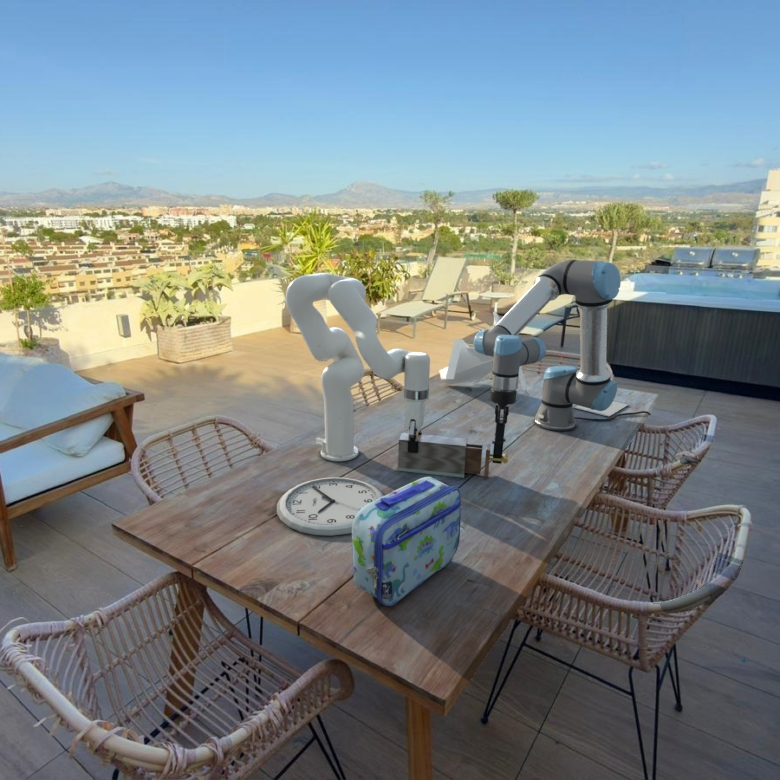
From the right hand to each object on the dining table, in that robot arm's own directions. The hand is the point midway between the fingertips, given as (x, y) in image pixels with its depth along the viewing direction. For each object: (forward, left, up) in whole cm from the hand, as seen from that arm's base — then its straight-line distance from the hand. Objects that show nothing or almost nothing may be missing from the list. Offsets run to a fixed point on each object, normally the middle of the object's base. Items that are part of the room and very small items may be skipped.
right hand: (496, 462), depth 159 cm
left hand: (+25, -2, +2) cm, 26 cm away
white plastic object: (+1, -87, -5) cm, 87 cm away
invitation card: (-50, -75, -5) cm, 90 cm away
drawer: (+9, -1, -4) cm, 10 cm away
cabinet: (+20, -2, -5) cm, 20 cm away
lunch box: (+23, +52, -5) cm, 57 cm away
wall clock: (+46, +24, -5) cm, 52 cm away
